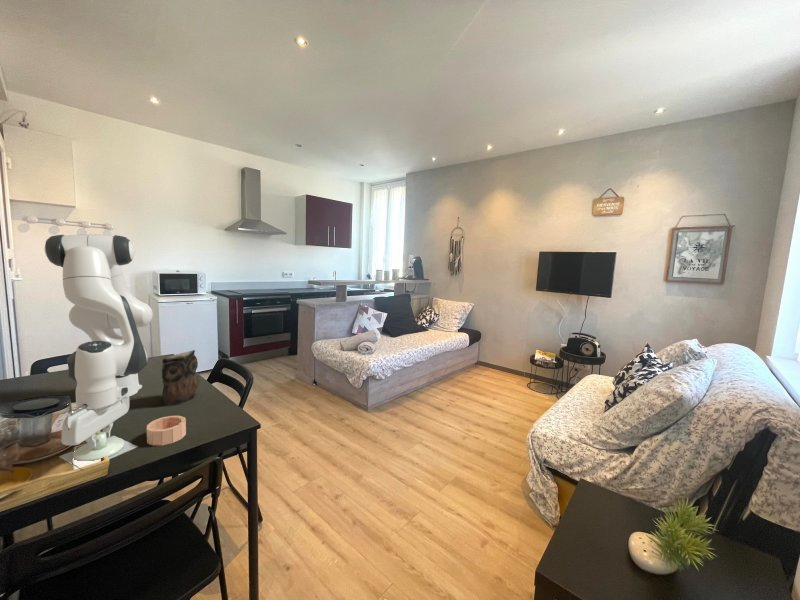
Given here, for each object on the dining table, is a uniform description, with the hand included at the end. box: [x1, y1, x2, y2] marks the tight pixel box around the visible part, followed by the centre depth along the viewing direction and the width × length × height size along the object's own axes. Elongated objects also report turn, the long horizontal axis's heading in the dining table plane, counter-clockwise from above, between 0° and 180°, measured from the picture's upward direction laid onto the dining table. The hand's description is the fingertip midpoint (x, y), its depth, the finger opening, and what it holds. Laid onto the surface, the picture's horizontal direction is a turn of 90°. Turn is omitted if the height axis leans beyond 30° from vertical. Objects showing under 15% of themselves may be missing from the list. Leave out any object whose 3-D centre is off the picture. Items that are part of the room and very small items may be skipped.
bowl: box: [146, 415, 187, 446], centre depth 104 cm, size 10×10×5 cm
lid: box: [73, 431, 124, 461], centre depth 95 cm, size 11×11×5 cm
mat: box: [58, 435, 139, 465], centre depth 95 cm, size 13×13×1 cm
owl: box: [161, 349, 200, 407], centre depth 131 cm, size 13×13×20 cm
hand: (99, 442), depth 95 cm, fingers closed on lid, 3 cm apart
